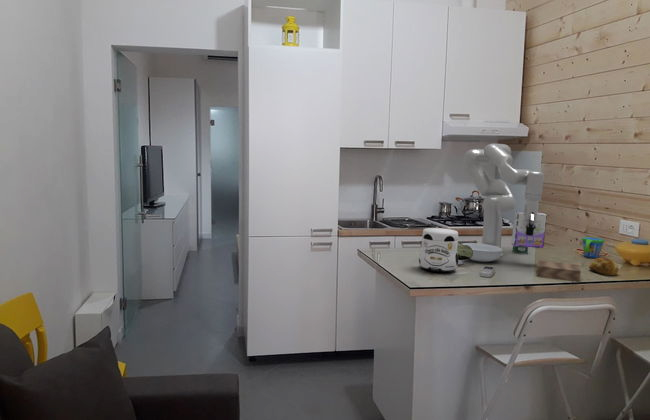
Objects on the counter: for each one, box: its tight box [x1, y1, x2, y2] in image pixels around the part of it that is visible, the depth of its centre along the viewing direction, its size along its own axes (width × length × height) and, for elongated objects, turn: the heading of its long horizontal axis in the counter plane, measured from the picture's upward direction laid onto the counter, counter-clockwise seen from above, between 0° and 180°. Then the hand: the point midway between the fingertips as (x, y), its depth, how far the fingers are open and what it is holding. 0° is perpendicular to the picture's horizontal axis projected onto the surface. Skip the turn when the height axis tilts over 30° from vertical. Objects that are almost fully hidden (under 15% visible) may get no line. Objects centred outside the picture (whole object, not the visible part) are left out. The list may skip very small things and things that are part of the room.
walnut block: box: [536, 260, 582, 282], centre depth 229 cm, size 17×14×5 cm
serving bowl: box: [462, 242, 503, 263], centre depth 256 cm, size 21×21×7 cm
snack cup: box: [581, 236, 605, 259], centre depth 276 cm, size 16×11×10 cm
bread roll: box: [588, 257, 620, 276], centre depth 238 cm, size 13×10×8 cm
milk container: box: [418, 227, 459, 273], centre depth 229 cm, size 17×17×18 cm
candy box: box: [510, 211, 548, 249], centre depth 247 cm, size 14×6×16 cm, turn 84°
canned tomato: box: [511, 245, 529, 255], centre depth 279 cm, size 8×8×11 cm
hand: (528, 233), depth 247 cm, fingers closed on candy box, 6 cm apart
